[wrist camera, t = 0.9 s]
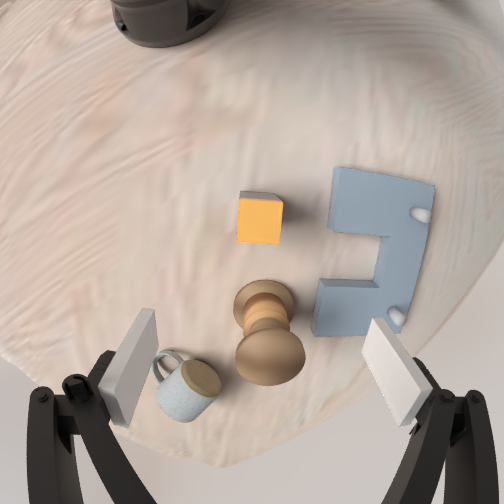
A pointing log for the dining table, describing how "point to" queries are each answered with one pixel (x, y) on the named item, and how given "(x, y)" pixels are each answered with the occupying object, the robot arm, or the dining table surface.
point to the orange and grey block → (259, 218)
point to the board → (389, 257)
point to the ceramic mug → (185, 388)
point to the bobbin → (267, 334)
